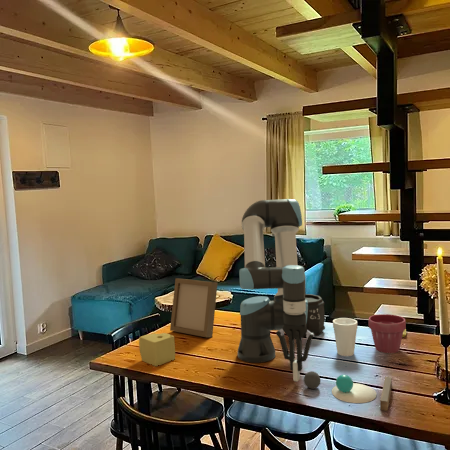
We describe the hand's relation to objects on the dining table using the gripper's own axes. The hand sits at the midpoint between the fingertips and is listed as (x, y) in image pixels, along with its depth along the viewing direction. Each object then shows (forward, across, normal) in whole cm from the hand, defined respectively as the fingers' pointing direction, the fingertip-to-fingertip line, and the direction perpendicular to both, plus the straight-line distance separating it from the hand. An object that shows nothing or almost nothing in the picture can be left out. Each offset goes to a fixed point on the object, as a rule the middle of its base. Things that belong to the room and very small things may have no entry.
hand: (296, 379), depth 158 cm
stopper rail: (+2, +29, 0) cm, 29 cm away
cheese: (+2, -58, +5) cm, 58 cm away
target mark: (+2, +19, 0) cm, 19 cm away
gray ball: (-1, +6, -1) cm, 6 cm away
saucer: (+3, +28, +63) cm, 69 cm away
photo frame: (+2, -59, +42) cm, 72 cm away
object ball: (-1, +16, 0) cm, 16 cm away
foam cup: (+2, +11, +34) cm, 36 cm away
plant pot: (+2, +26, +43) cm, 50 cm away
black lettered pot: (+2, -11, +56) cm, 57 cm away
